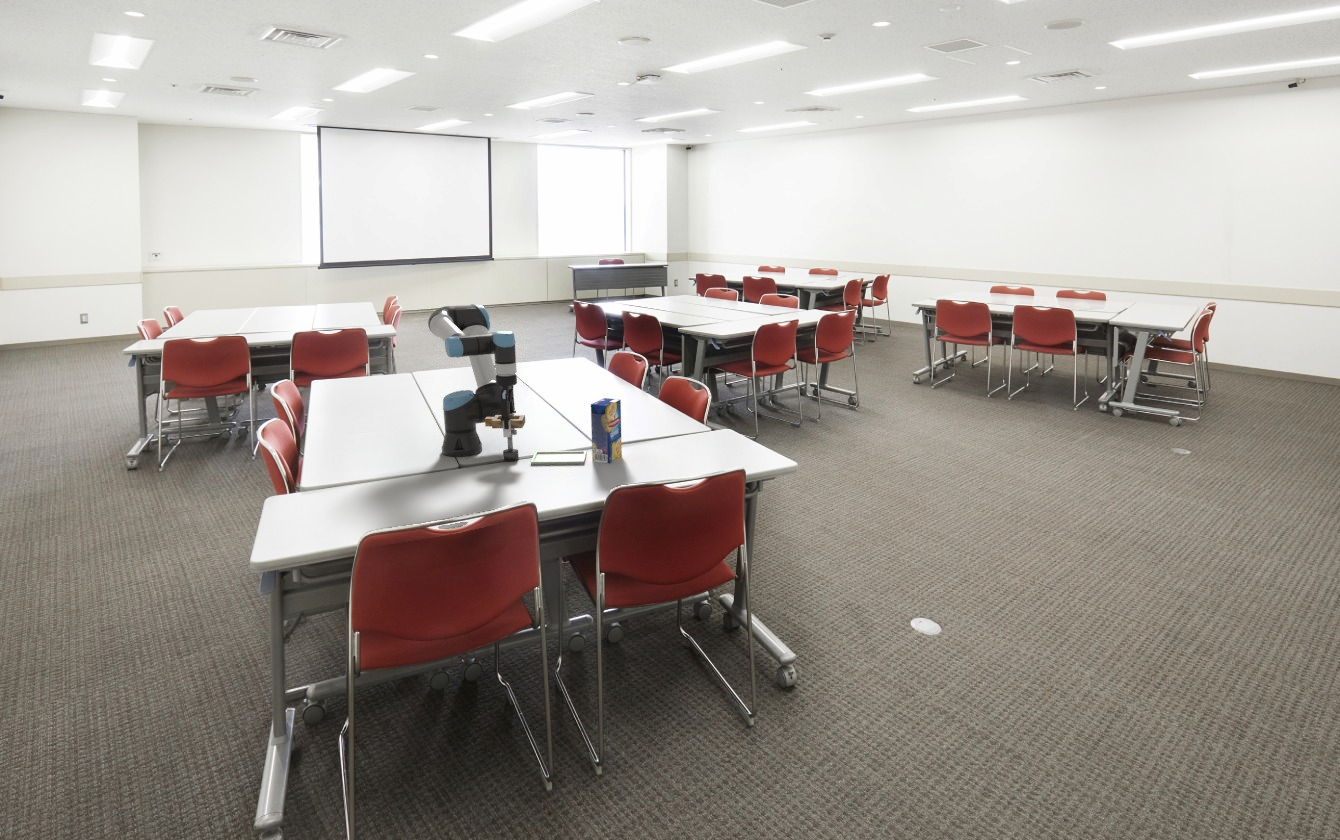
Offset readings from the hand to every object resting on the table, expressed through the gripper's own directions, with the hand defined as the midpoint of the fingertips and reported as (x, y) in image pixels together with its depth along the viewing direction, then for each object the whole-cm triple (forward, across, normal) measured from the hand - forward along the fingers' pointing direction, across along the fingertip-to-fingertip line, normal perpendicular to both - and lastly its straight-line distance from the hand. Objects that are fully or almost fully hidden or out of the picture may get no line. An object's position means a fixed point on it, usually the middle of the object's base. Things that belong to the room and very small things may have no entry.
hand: (509, 433), depth 279 cm
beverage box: (+10, 0, +36) cm, 38 cm away
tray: (+10, +1, +18) cm, 21 cm away
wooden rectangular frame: (-3, 0, -1) cm, 4 cm away
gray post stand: (+10, 0, 0) cm, 10 cm away
